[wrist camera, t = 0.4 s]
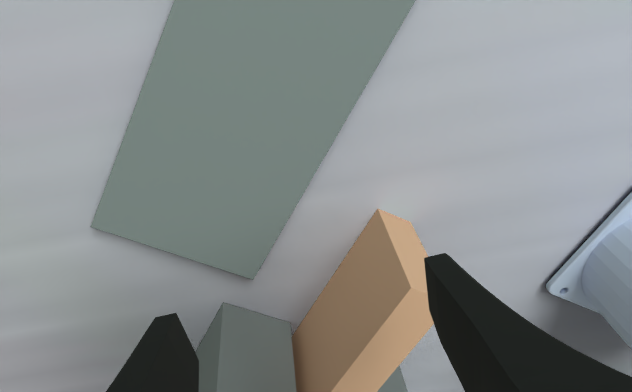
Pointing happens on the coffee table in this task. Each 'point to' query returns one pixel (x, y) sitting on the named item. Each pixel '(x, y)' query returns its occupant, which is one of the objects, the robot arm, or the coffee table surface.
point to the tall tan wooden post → (365, 312)
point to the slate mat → (240, 121)
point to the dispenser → (254, 355)
